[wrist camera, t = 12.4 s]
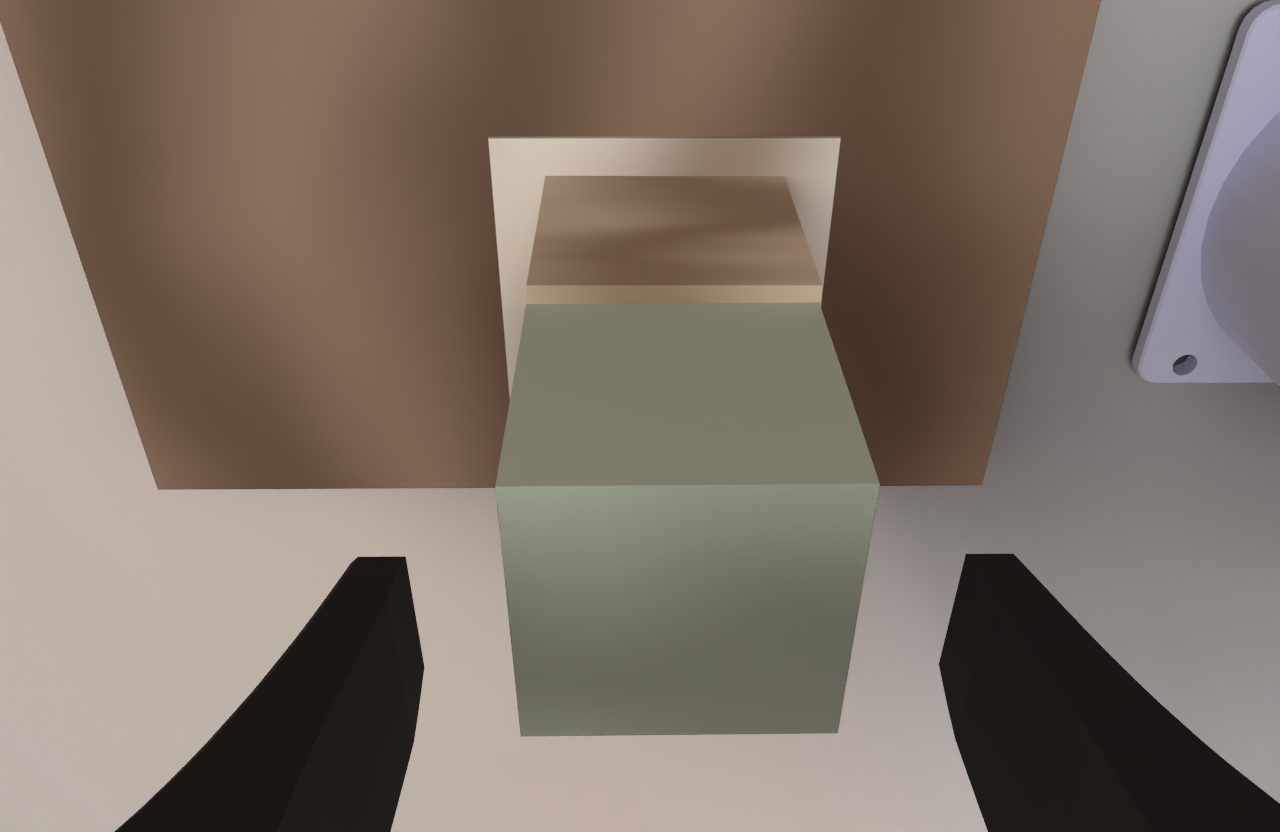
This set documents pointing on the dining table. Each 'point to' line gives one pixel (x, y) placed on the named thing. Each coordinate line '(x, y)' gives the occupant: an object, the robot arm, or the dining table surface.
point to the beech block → (670, 242)
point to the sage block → (682, 520)
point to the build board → (526, 202)
